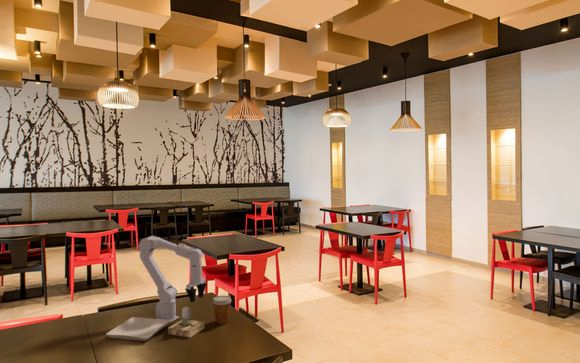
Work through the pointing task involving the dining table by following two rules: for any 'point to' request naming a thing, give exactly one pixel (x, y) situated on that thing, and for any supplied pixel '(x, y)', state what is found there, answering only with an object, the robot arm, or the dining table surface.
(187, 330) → the jack base
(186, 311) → the post
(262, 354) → the dining table surface
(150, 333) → the salad plate
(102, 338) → the dining table surface
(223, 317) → the disposable coffee cup
